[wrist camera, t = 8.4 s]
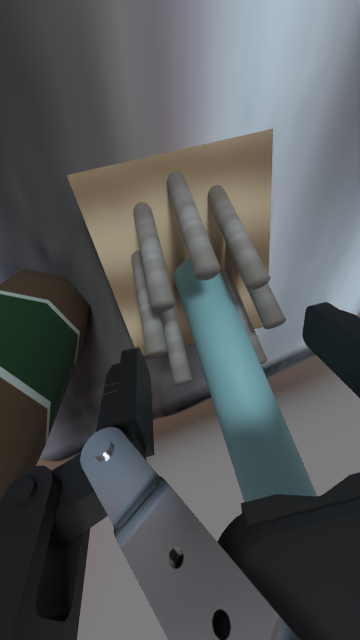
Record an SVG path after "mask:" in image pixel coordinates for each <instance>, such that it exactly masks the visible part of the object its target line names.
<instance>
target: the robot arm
mask: <svg viewBox="0 0 360 640" xmlns="http://www.w3.org/2000/svg"><path fill="white" fill-rule="evenodd" d="M303 339H304V342H305V343H306V345H307V346H308V347H309V348H310V349H311V350H312V351H313V352H314V353H315V354H316V355H317V356H318V357H319V358H320V359H321V360H322V361H323V362H324V363H325V364H326V365H327V366H328V367H329V368H330V369H331V370H332V371H333V372H334V373H335V374H336V375H337V376H338V377H339V378H340V379H341V380H342V381H343V382H344V383H345V384H346V385H347V386H348V387H349V388H350V389H351V390H352V391H353V392H354V393H355V394H356V395H357V396H358V397H359V398H360V318H359V317H358V316H356V315H354V314H351V313H348V312H346V311H343V310H339V309H338V308H336V307H334V306H333V305H331V304H330V303H327V302H324V303H320V304H316V305H312V306H308V307H307V309H306V313H305V320H304V327H303ZM103 394H104V395H103V397H102V403H101V408H100V414H99V419H98V424H97V429H96V433H95V434H93V435H92V436H91V437H90V438H89V440H88V441H87V442H86V444H85V445H84V447H83V450H82V452H81V453H80V454H79V455H77V456H76V457H74V458H73V459H71V460H69V461H67V462H66V463H64V464H62V465H61V466H59V467H57V468H55V469H54V470H52V471H51V470H50V469H48V468H47V467H46V466H35V467H33V468H30V469H28V470H27V471H25V472H24V473H22V474H21V475H20V476H19V477H17V478H16V479H15V480H14V481H13V483H12V484H11V485H10V486H9V488H8V489H7V490H6V492H5V494H4V495H3V497H2V499H1V502H0V640H77V632H78V624H79V616H80V608H81V600H82V591H83V583H84V575H85V567H86V557H87V550H88V542H89V534H90V533H89V532H90V528H91V527H92V526H94V525H95V524H97V523H98V522H99V521H101V520H102V519H104V518H105V517H107V516H108V517H109V518H110V520H111V522H112V524H113V527H114V535H115V538H116V540H117V542H118V544H119V546H120V548H121V550H122V552H123V554H124V556H125V558H126V560H127V561H128V564H129V565H130V568H131V569H132V571H133V573H134V575H135V577H136V579H137V581H138V583H139V585H140V586H141V588H142V590H143V592H144V594H145V596H146V598H147V600H148V602H149V604H150V606H151V607H152V609H153V611H154V613H155V615H156V617H157V619H158V621H159V623H160V625H161V627H162V628H163V630H164V632H165V634H166V636H167V638H168V640H360V473H356V474H352V475H349V476H348V477H347V478H345V479H344V480H343V481H341V482H340V483H338V484H337V485H336V486H334V487H333V488H332V489H330V490H329V491H327V492H326V493H325V494H323V495H321V496H301V495H285V494H275V495H271V496H267V497H263V498H260V499H256V500H252V501H248V502H244V503H241V507H242V514H241V515H240V516H238V517H236V518H235V519H234V520H233V521H232V522H231V523H230V524H229V525H228V527H227V528H226V529H225V530H224V532H223V533H222V535H221V537H220V538H219V540H218V542H217V541H216V540H215V539H214V538H213V536H212V535H211V534H210V533H209V532H208V530H207V529H206V528H205V527H204V526H203V524H202V523H201V522H200V521H199V520H198V518H197V517H196V516H195V515H194V514H193V513H192V511H191V510H190V509H189V508H188V507H187V505H186V504H185V503H184V502H183V501H182V499H181V498H180V497H179V496H178V495H177V493H176V492H175V491H174V490H173V489H172V488H171V486H170V485H169V484H168V483H167V482H166V481H165V480H164V479H163V478H162V477H160V476H159V475H158V474H157V473H156V472H155V471H154V470H153V468H152V467H151V466H150V465H149V464H148V462H147V461H146V457H148V456H152V455H154V441H153V418H152V395H151V380H150V375H149V371H148V368H147V366H146V363H145V360H144V358H143V355H142V352H141V350H140V348H139V347H136V348H132V349H128V350H124V351H122V354H121V362H120V363H119V364H115V365H113V366H112V367H111V369H110V370H109V372H108V373H107V376H106V381H105V387H104V392H103Z"/></svg>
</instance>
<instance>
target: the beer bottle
mask: <svg viewBox="0 0 360 640" xmlns="http://www.w3.org/2000/svg"><path fill="white" fill-rule="evenodd" d="M88 313H89V304H88V303H87V302H86V301H85V299H84V298H83V297H82V296H81V295H80V294H79V293H78V291H77V290H76V289H75V288H74V287H73V286H72V284H71V283H70V282H69V281H68V280H67V279H66V278H62V277H58V276H53V275H49V274H45V273H40V272H36V271H32V270H27V269H25V270H23V271H22V272H20V273H18V274H16V275H15V276H13V277H11V278H10V279H8V280H6V281H5V282H3V283H1V284H0V502H1V499H2V497H3V495H4V494H5V492H6V490H7V489H8V488H9V486H10V485H11V484H12V483H13V481H14V480H15V479H16V478H17V477H19V476H20V475H21V474H22V473H24V472H25V471H27V470H28V469H30V468H33V467H35V466H36V464H37V462H38V460H39V458H40V456H41V453H42V451H43V449H44V447H45V445H46V442H47V439H48V437H49V434H50V431H51V428H52V426H53V423H54V420H55V418H56V415H57V412H58V409H59V407H60V404H61V401H62V399H63V396H64V393H65V390H66V388H67V385H68V382H69V380H70V377H71V374H72V371H73V369H74V366H75V363H76V361H77V358H78V355H79V352H80V350H81V347H82V344H83V340H84V337H85V333H86V327H87V320H88Z"/></svg>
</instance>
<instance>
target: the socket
mask: <svg viewBox="0 0 360 640" xmlns="http://www.w3.org/2000/svg"><path fill="white" fill-rule="evenodd" d="M272 146H273V129H270V130H266V131H261V132H257V133H252V134H248V135H244V136H239V137H235V138H230V139H226V140H221V141H217V142H212V143H208V144H204V145H199V146H195V147H190V148H186V149H181V150H177V151H173V152H168V153H164V154H159V155H155V156H150V157H146V158H141V159H137V160H133V161H128V162H124V163H119V164H115V165H110V166H106V167H101V168H97V169H93V170H88V171H84V172H79V173H75V174H70V175H67V177H68V179H69V182H70V185H71V187H72V190H73V192H74V195H75V197H76V200H77V202H78V205H79V207H80V210H81V212H82V215H83V217H84V220H85V223H86V225H87V228H88V230H89V233H90V235H91V238H92V240H93V243H94V245H95V248H96V250H97V253H98V256H99V258H100V261H101V263H102V266H103V268H104V271H105V273H106V276H107V278H108V281H109V283H110V286H111V288H112V291H113V294H114V296H115V299H116V301H117V304H118V306H119V309H120V311H121V314H122V316H123V319H124V321H125V324H126V326H127V329H128V332H129V334H130V337H131V339H132V342H133V344H134V347H135V348H136V347H139V348H140V350H141V352H142V355H143V356H146V355H147V356H150V357H154V356H160V355H163V354H165V353H166V352H168V357H169V362H170V367H171V372H172V376H173V381H174V384H176V385H178V384H184V383H187V382H190V381H192V380H193V378H192V374H191V370H190V366H189V362H188V358H187V354H186V350H185V346H187V345H191V344H194V341H193V338H192V335H191V332H190V328H189V325H188V322H187V319H186V316H185V313H184V310H183V306H182V303H181V300H180V297H179V294H178V291H177V288H176V284H175V281H174V278H173V276H174V272H175V270H176V269H177V268H178V267H179V266H180V265H181V264H182V263H183V262H185V261H187V260H189V259H190V261H191V264H192V267H193V270H194V273H195V276H196V278H197V279H198V280H202V281H205V280H210V279H212V278H214V277H215V276H217V275H218V274H219V272H220V271H221V273H222V276H223V278H224V280H225V283H226V285H227V287H228V290H229V292H230V294H231V297H232V299H233V301H234V304H235V306H236V308H237V311H238V313H239V315H240V318H241V320H242V322H243V325H244V327H245V329H246V332H247V334H248V336H249V339H250V341H251V343H252V346H253V348H254V350H255V353H256V355H257V357H258V359H259V362H260V364H263V363H265V362H266V361H267V359H266V357H265V354H264V352H263V350H262V347H261V345H260V342H259V340H258V338H257V335H256V333H255V331H254V329H257V328H261V327H264V328H265V329H271V328H274V327H277V326H279V325H281V324H283V323H284V322H285V321H286V319H285V317H284V315H283V313H282V311H281V309H280V307H279V305H278V303H277V301H276V299H275V297H274V295H273V293H272V291H271V290H270V288H269V286H268V282H269V280H270V276H269V274H268V271H269V240H270V208H271V177H272Z"/></svg>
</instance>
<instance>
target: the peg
mask: <svg viewBox="0 0 360 640" xmlns="http://www.w3.org/2000/svg"><path fill="white" fill-rule="evenodd" d="M173 278H174V281H175V284H176V288H177V291H178V294H179V297H180V300H181V303H182V306H183V310H184V313H185V316H186V319H187V322H188V325H189V328H190V332H191V335H192V338H193V341H194V344H195V347H196V351H197V354H198V357H199V360H200V363H201V366H202V369H203V373H204V376H205V379H206V382H207V385H208V388H209V391H210V395H211V398H212V401H213V404H214V407H215V410H216V413H217V417H218V420H219V423H220V426H221V429H222V432H223V436H224V439H225V441H226V445H227V448H228V451H229V454H230V457H231V461H232V464H233V467H234V470H235V473H236V477H237V480H238V483H239V486H240V489H241V492H242V495H243V499H244V502H248V501H252V500H256V499H260V498H263V497H267V496H271V495H275V494H285V495H301V496H317V495H316V492H315V490H314V488H313V485H312V483H311V481H310V478H309V476H308V474H307V471H306V469H305V467H304V465H303V462H302V460H301V458H300V455H299V453H298V451H297V448H296V446H295V443H294V441H293V439H292V436H291V434H290V432H289V429H288V427H287V425H286V423H285V420H284V418H283V415H282V413H281V411H280V408H279V406H278V404H277V401H276V399H275V397H274V394H273V392H272V390H271V388H270V385H269V383H268V381H267V378H266V376H265V373H264V371H263V369H262V366H261V364H260V362H259V359H258V357H257V355H256V353H255V350H254V348H253V346H252V343H251V341H250V339H249V336H248V334H247V332H246V329H245V327H244V325H243V322H242V320H241V318H240V315H239V313H238V311H237V308H236V306H235V304H234V301H233V299H232V297H231V294H230V292H229V290H228V287H227V285H226V283H225V280H224V278H223V276H222V273H221V271H220V272H219V274H218V275H217V276H215V277H214V278H212V279H210V280H205V281H202V280H198V279H197V278H196V276H195V273H194V270H193V267H192V264H191V261H190V259H189V260H187V261H185V262H183V263H182V264H181V265H180V266H179V267H178V268H177V269H176V270H175V272H174V276H173Z"/></svg>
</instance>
